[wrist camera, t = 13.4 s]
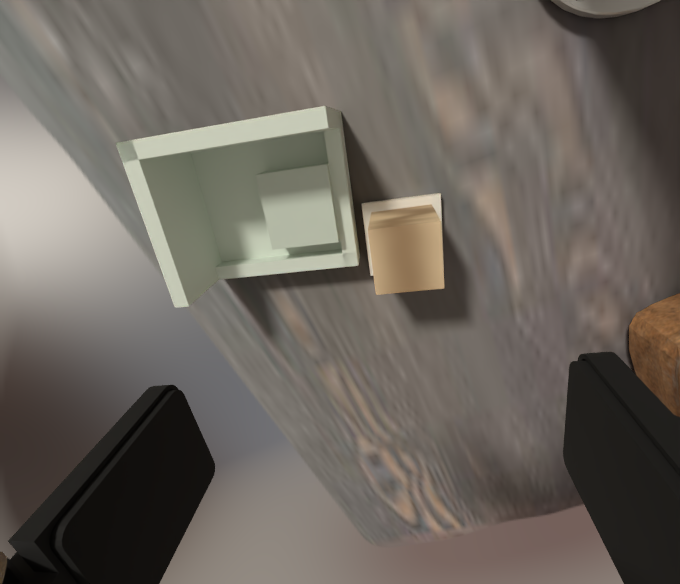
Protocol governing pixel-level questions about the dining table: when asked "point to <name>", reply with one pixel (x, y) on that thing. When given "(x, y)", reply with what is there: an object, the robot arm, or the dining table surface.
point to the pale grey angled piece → (245, 199)
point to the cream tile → (397, 204)
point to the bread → (658, 350)
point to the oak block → (406, 249)
